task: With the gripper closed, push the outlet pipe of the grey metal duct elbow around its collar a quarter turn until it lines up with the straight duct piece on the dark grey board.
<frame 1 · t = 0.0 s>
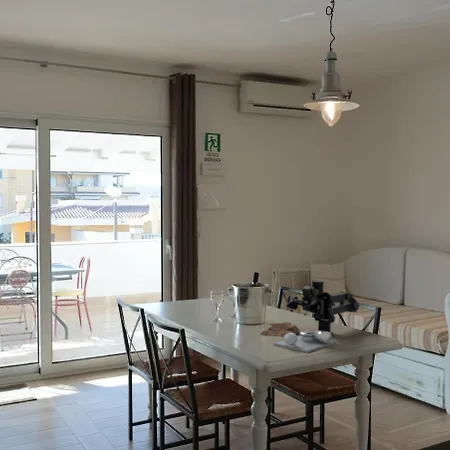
hand: (294, 307, 255), 17 cm above the table, fingers open, 9 cm apart
fossil: (278, 333, 276), on the table
elbow: (314, 335, 254), point 4 cm above the table, hinge at 90.0°
duct base: (305, 344, 253), on the table
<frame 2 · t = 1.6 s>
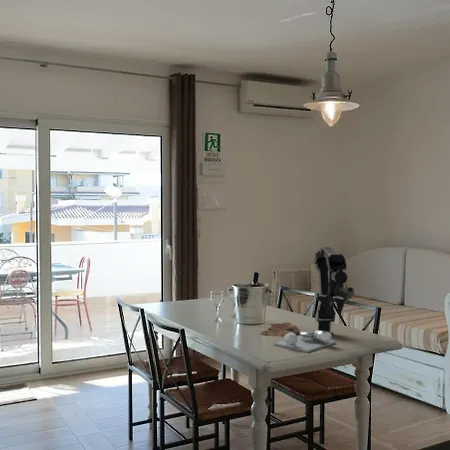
hand: (334, 315, 255), 13 cm above the table, fingers open, 8 cm apart
nothing on the table moved.
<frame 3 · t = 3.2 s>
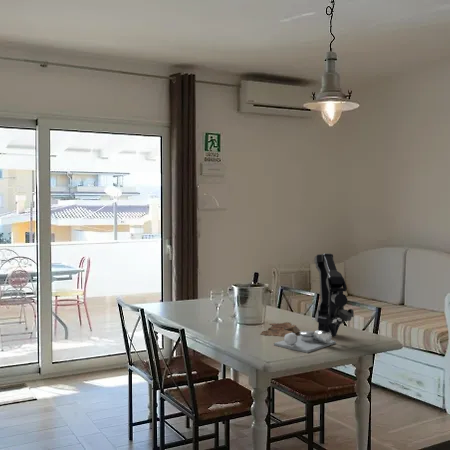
hand: (334, 336, 255), 3 cm above the table, fingers closed
nothing on the table moved.
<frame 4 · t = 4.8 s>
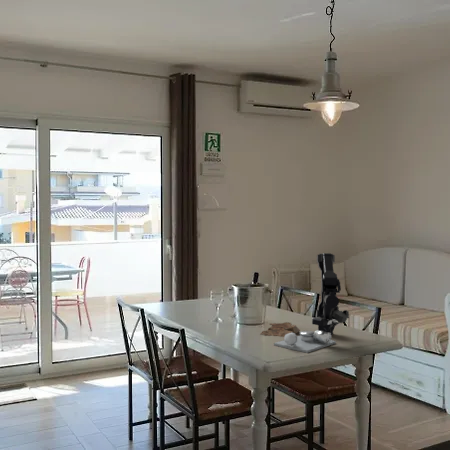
hand: (329, 337, 253), 3 cm above the table, fingers closed
elbow: (314, 335, 254), point 4 cm above the table, hinge at 88.6°, touching gripper
everything else where it was.
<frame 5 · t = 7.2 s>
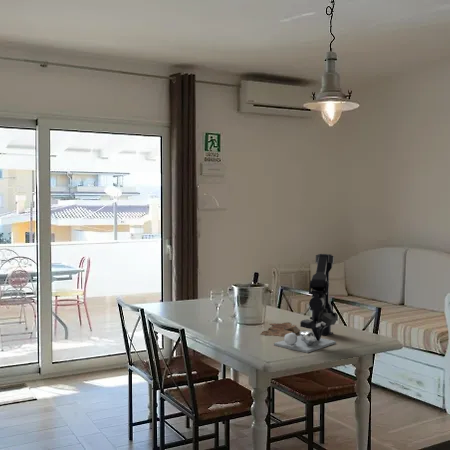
hand: (318, 340, 248), 3 cm above the table, fingers closed
elbow: (308, 335, 253), point 4 cm above the table, hinge at 36.8°, touching gripper
everything else where it was.
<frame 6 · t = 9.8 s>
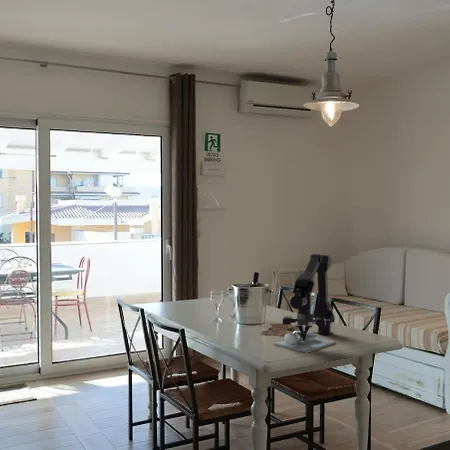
hand: (303, 340, 247), 3 cm above the table, fingers closed
elbow: (304, 334, 254), point 4 cm above the table, hinge at -1.2°, touching gripper
everything else where it was.
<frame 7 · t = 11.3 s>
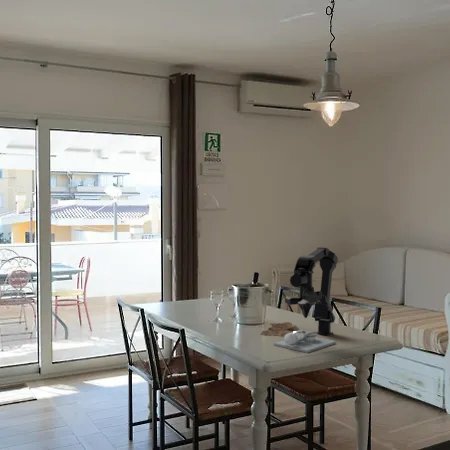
hand: (305, 317, 256), 12 cm above the table, fingers closed
elbow: (304, 334, 254), point 4 cm above the table, hinge at -1.3°
everything else where it was.
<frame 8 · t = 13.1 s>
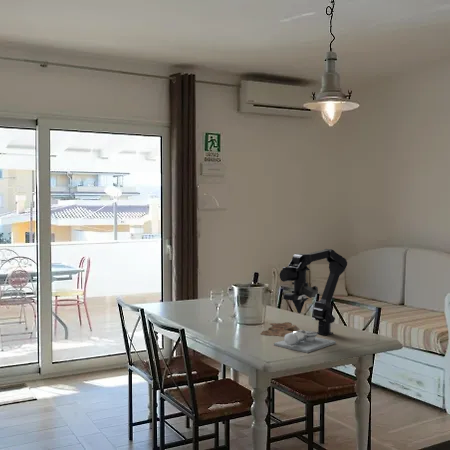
hand: (299, 312, 264), 12 cm above the table, fingers closed
nothing on the table moved.
at the end: elbow at -1° (first picture: +90°) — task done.
